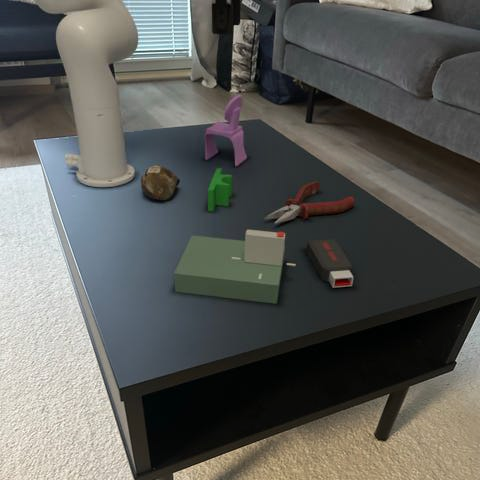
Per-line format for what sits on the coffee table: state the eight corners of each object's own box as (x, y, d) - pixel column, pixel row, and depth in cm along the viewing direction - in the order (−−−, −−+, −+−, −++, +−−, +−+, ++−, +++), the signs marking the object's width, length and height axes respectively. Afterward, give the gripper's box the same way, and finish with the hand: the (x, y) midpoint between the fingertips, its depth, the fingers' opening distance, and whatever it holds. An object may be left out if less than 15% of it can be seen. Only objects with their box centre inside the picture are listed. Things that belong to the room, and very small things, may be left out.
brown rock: (153, 169, 109) (127, 193, 103) (163, 148, 104) (136, 172, 98) (181, 191, 110) (157, 216, 104) (192, 171, 105) (167, 196, 99)
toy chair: (217, 150, 127) (217, 86, 118) (248, 156, 124) (251, 92, 115) (201, 160, 121) (200, 95, 112) (234, 167, 118) (236, 101, 109)
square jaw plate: (244, 262, 79) (245, 232, 76) (245, 257, 80) (246, 227, 77) (281, 266, 78) (284, 236, 75) (282, 261, 80) (285, 231, 76)
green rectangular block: (175, 291, 78) (173, 272, 76) (192, 252, 87) (191, 234, 85) (290, 305, 76) (292, 285, 74) (295, 264, 86) (297, 245, 83)
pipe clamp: (226, 213, 100) (226, 191, 97) (207, 211, 100) (207, 189, 97) (233, 189, 109) (234, 169, 106) (216, 187, 109) (216, 167, 106)
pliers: (248, 216, 99) (248, 203, 97) (314, 189, 110) (315, 178, 108) (290, 238, 93) (292, 226, 91) (356, 208, 104) (358, 196, 102)
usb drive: (333, 249, 90) (335, 235, 88) (357, 287, 81) (360, 272, 79) (305, 251, 89) (307, 237, 88) (326, 289, 80) (329, 275, 78)
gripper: (211, -104, 79) (213, 21, 90) (188, -111, 66) (194, 37, 76) (258, -103, 79) (254, 22, 89) (245, -110, 65) (243, 38, 76)
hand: (226, 29), depth 83 cm, fingers open, 9 cm apart
